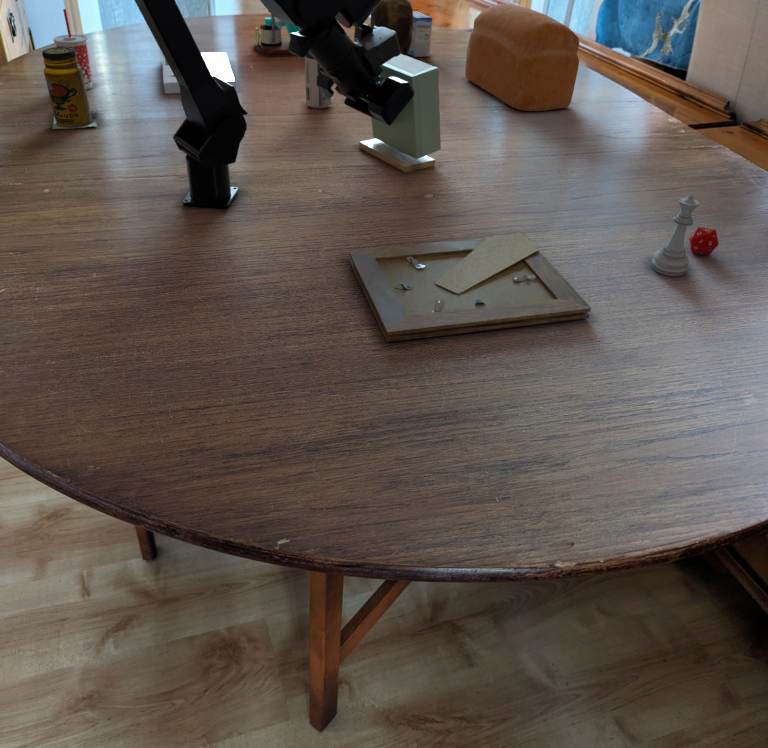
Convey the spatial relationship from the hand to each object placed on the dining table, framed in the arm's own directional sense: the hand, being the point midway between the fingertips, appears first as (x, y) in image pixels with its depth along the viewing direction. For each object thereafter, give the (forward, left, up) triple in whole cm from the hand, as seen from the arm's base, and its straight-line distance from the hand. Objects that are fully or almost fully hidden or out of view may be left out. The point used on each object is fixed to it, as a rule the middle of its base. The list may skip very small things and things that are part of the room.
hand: (390, 122), depth 116 cm
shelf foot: (+1, -1, -6) cm, 6 cm away
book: (+39, +44, -6) cm, 59 cm away
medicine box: (+71, 0, -6) cm, 71 cm away
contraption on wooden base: (+68, +29, -6) cm, 74 cm away
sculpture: (+57, +5, -6) cm, 57 cm away
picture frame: (-41, -12, -6) cm, 43 cm away
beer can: (+25, +16, -6) cm, 30 cm away
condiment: (+7, +56, -6) cm, 57 cm away
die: (-26, -44, -6) cm, 52 cm away
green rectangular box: (+2, -3, -4) cm, 5 cm away
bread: (+43, -23, -6) cm, 49 cm away
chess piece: (-31, -39, -6) cm, 50 cm away
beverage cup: (+26, +64, -6) cm, 69 cm away
